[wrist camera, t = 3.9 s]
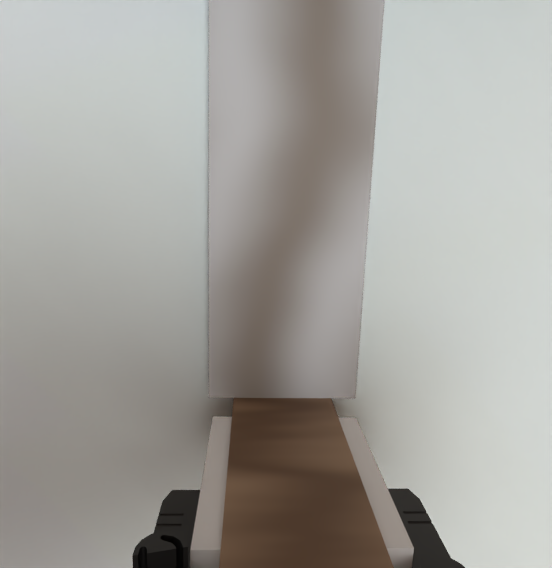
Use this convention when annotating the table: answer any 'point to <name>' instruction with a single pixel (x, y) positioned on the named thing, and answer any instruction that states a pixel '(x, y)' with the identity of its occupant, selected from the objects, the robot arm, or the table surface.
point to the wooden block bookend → (291, 272)
